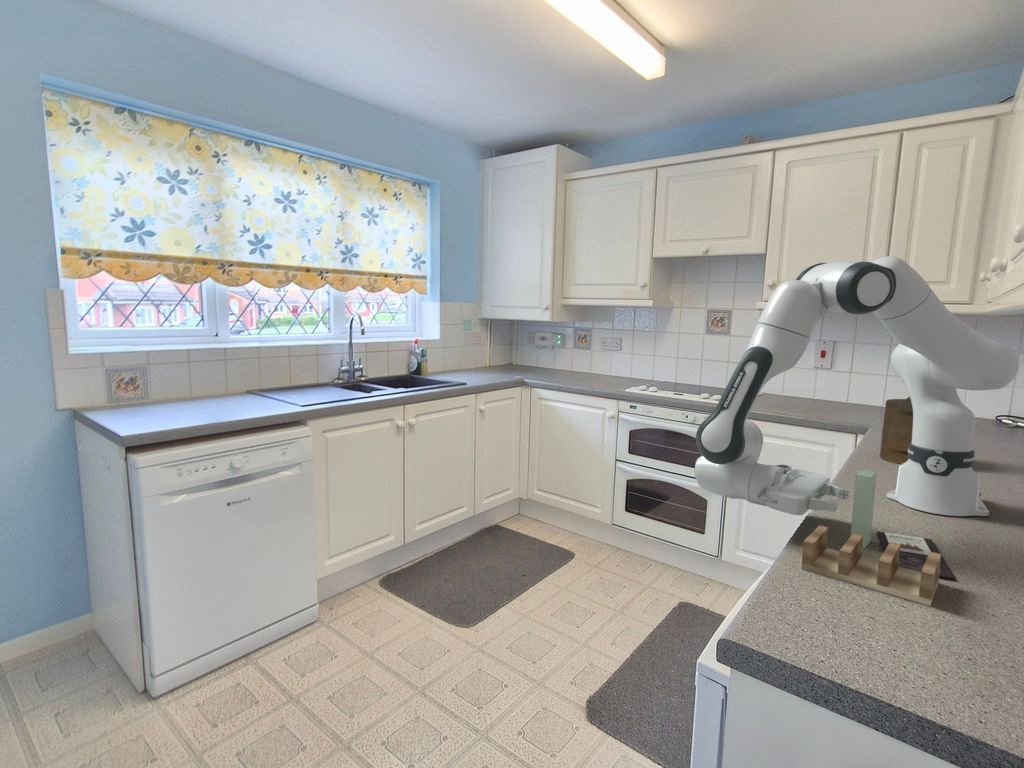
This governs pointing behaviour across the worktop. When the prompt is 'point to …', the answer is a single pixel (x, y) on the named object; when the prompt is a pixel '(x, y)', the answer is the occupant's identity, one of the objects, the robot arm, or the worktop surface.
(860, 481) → the tall mint green block
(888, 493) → the robot arm
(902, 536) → the chocolate bar
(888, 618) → the worktop surface
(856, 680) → the worktop surface
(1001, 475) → the worktop surface
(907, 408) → the wooden container
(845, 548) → the rack
